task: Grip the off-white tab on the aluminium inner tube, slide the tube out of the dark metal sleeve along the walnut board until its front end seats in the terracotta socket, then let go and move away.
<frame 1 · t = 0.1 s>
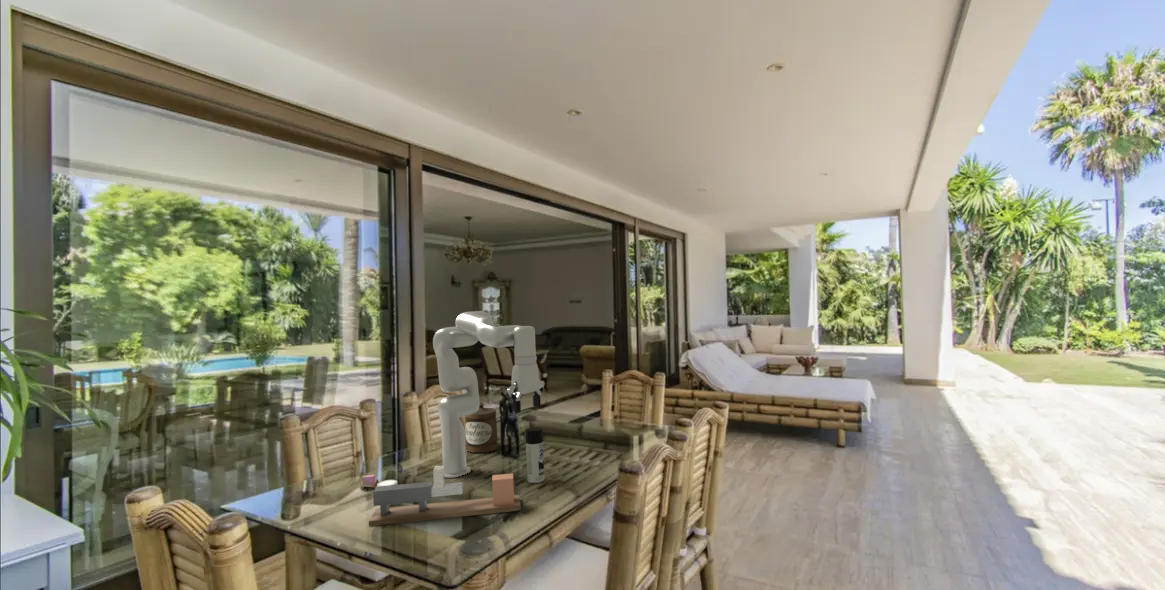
hand: (527, 409, 183), 31 cm above the table, tool pointing down, fingers open, 9 cm apart
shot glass: (388, 503, 183), on the table
outer sleeve: (404, 516, 170), resting on base board
wooden container: (482, 449, 245), on the table
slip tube: (420, 482, 171), point 11 cm above the table, slide at 0.0 cm
perfume bottle: (376, 487, 200), on the table
base board: (447, 511, 173), on the table
spray can: (535, 481, 199), on the table
socket: (502, 506, 176), resting on base board
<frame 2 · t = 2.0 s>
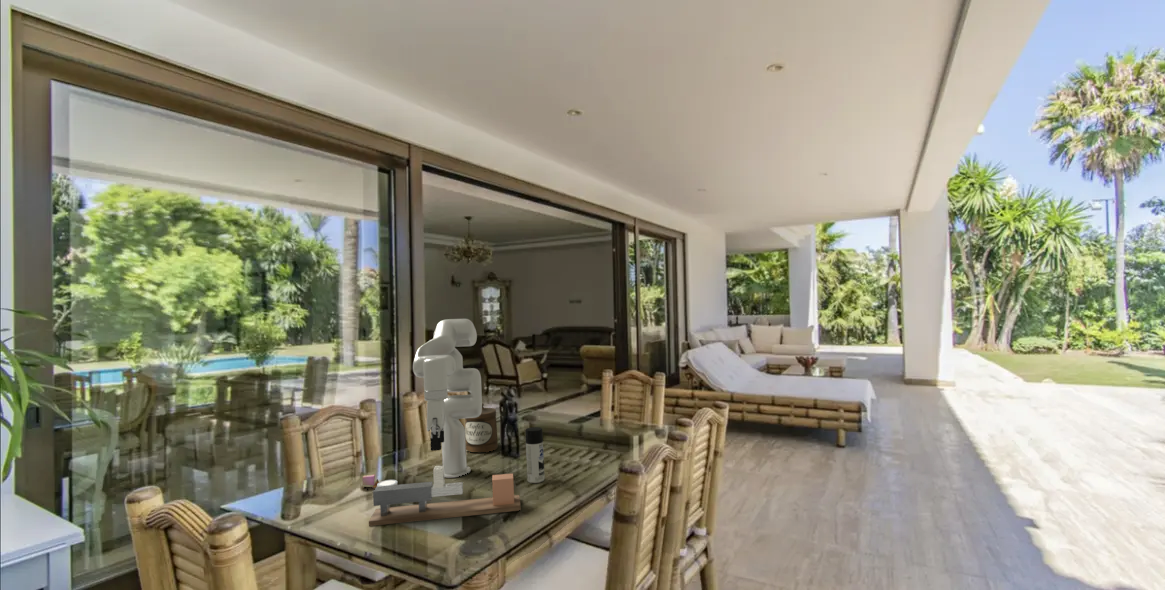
hand: (437, 446, 172), 22 cm above the table, tool pointing down, fingers open, 9 cm apart
nothing on the table moved.
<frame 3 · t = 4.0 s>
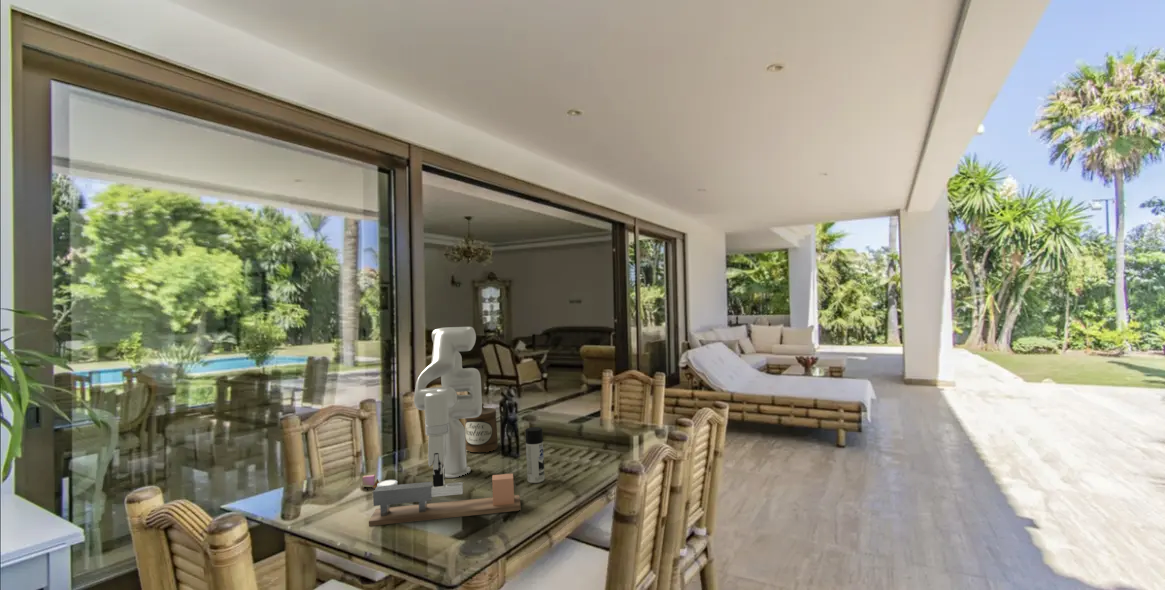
hand: (439, 483, 172), 10 cm above the table, tool pointing down, fingers closed on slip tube, 4 cm apart
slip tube: (420, 482, 171), point 10 cm above the table, slide at 0.0 cm, touching gripper
everything else where it was.
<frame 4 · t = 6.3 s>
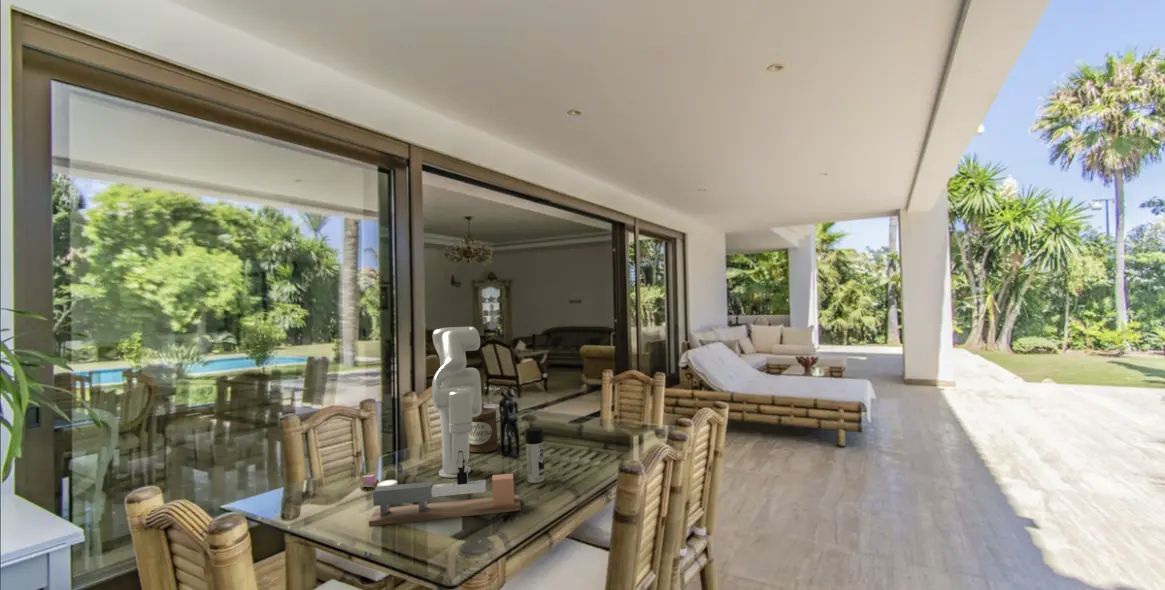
hand: (462, 481, 174), 10 cm above the table, tool pointing down, fingers closed on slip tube, 4 cm apart
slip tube: (444, 480, 173), point 11 cm above the table, slide at 7.8 cm, touching gripper
everything else where it was.
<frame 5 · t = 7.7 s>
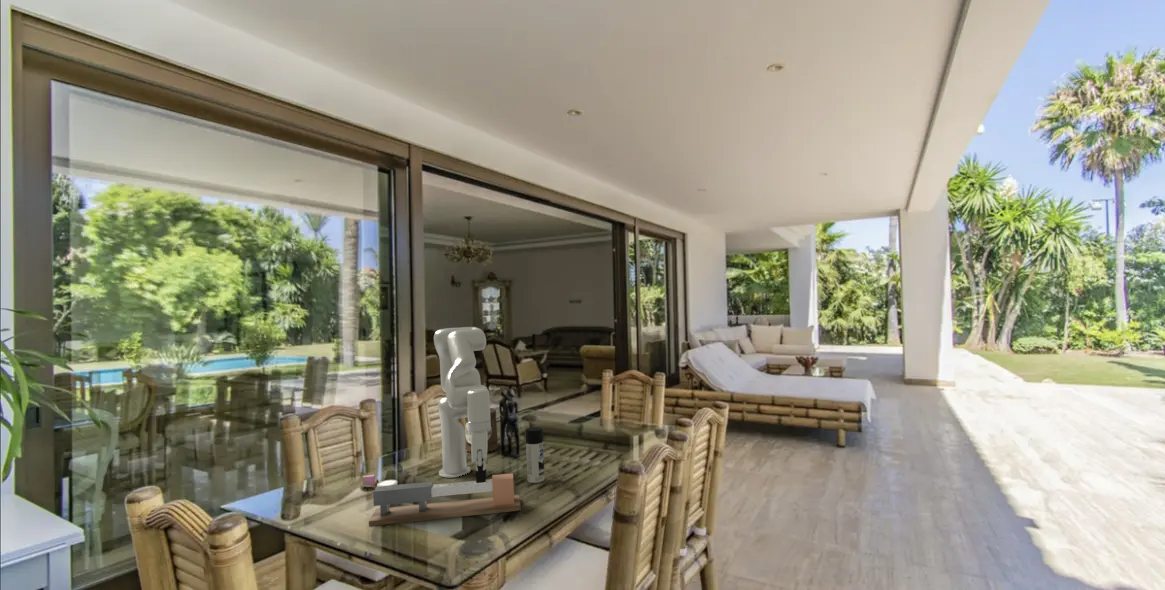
hand: (481, 479, 175), 10 cm above the table, tool pointing down, fingers closed on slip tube, 4 cm apart
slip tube: (463, 478, 174), point 11 cm above the table, slide at 13.8 cm, touching gripper
everything else where it was.
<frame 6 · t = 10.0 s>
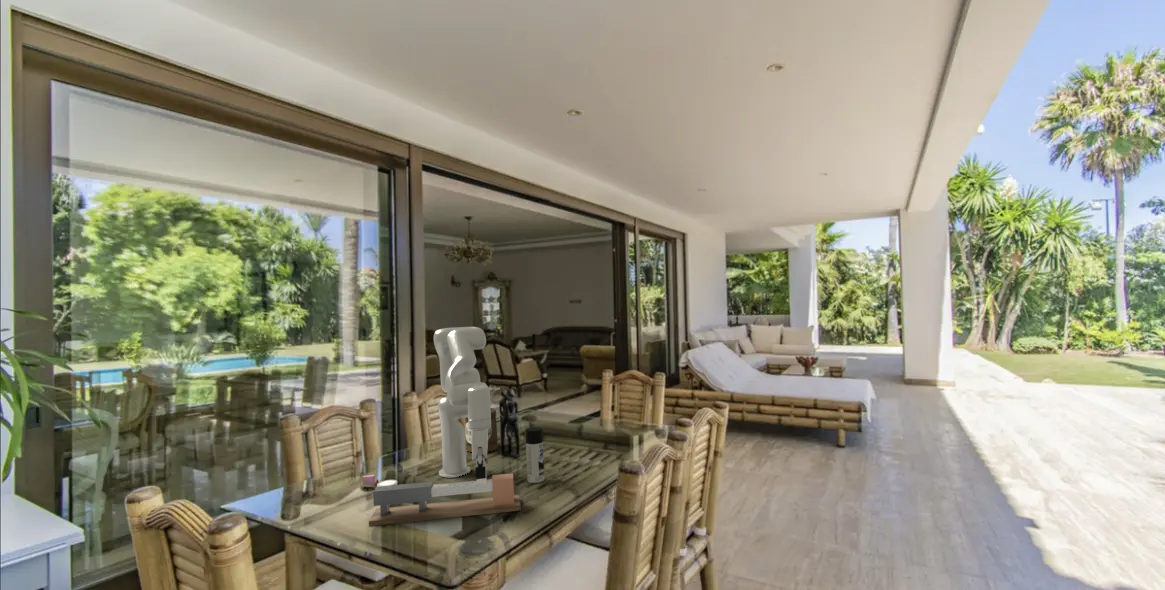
hand: (481, 473, 175), 12 cm above the table, tool pointing down, fingers open, 9 cm apart
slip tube: (463, 478, 174), point 10 cm above the table, slide at 14.0 cm
everything else where it was.
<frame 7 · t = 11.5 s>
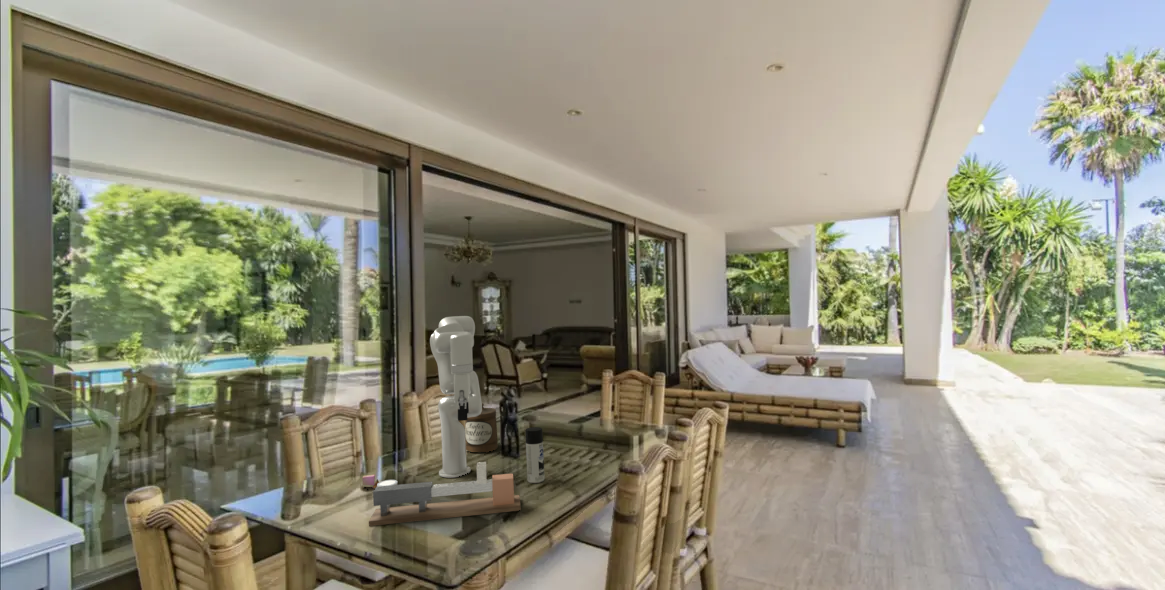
hand: (463, 416, 183), 29 cm above the table, tool pointing down, fingers open, 9 cm apart
nothing on the table moved.
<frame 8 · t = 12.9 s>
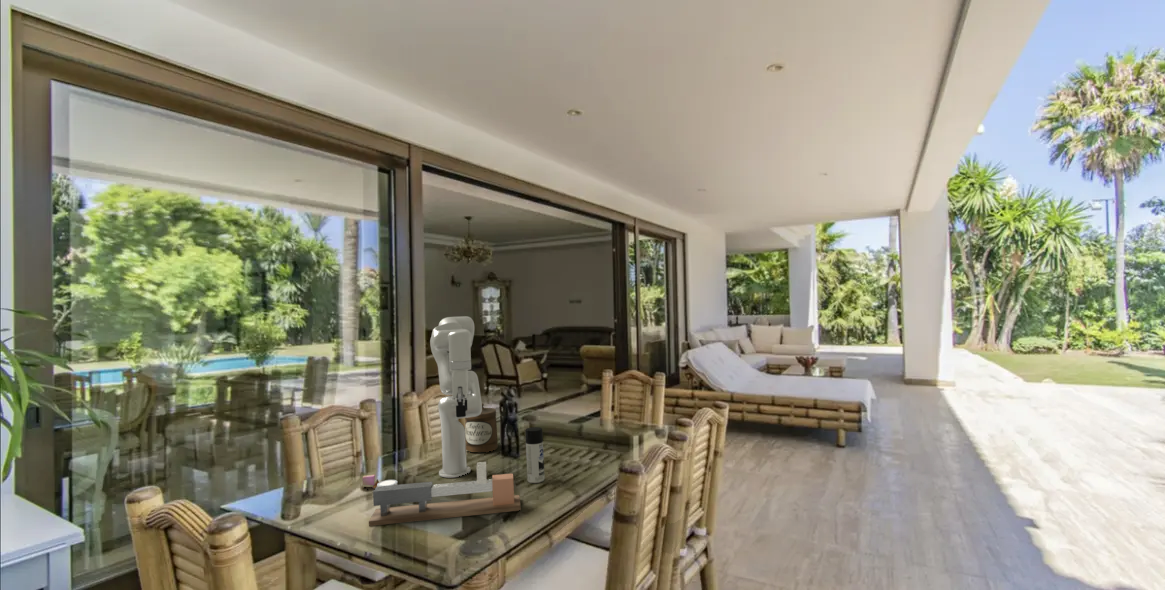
hand: (462, 413, 184), 30 cm above the table, tool pointing down, fingers open, 9 cm apart
nothing on the table moved.
at the end: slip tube slide at 14.0 cm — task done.
